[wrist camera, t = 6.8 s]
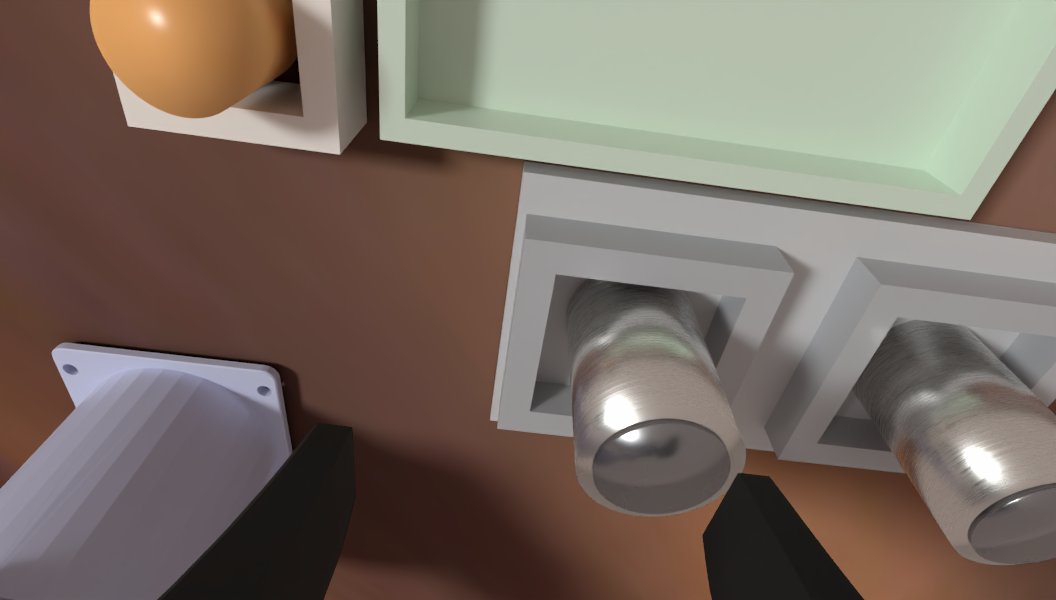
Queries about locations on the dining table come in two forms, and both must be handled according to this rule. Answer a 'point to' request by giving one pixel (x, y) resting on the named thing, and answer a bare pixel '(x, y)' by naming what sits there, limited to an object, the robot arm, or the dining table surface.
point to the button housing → (290, 90)
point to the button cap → (195, 49)
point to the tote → (730, 90)
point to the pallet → (766, 299)
